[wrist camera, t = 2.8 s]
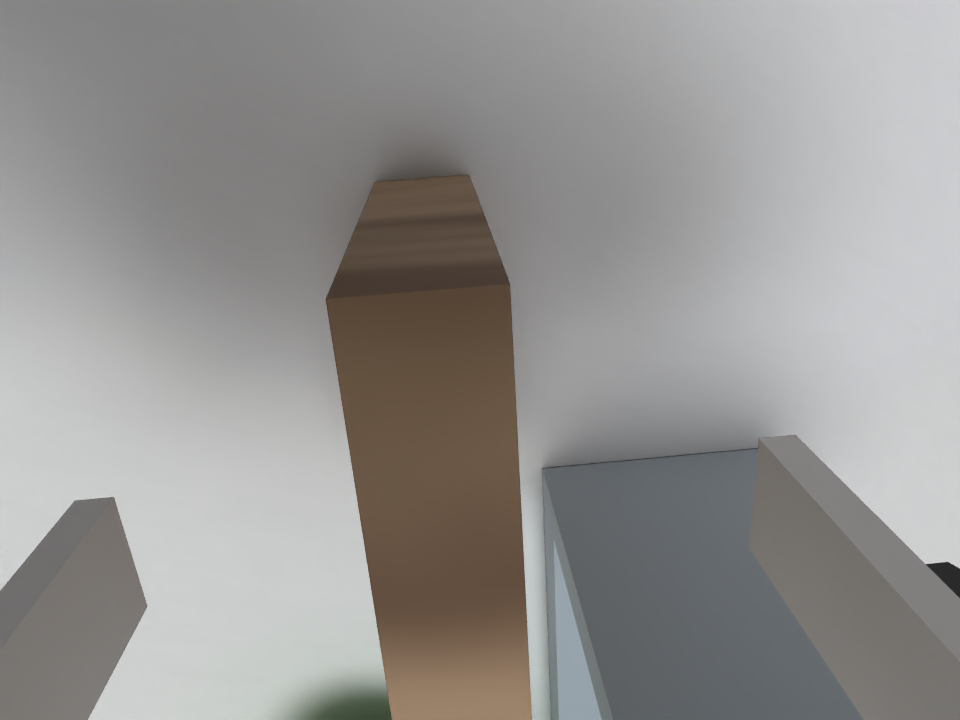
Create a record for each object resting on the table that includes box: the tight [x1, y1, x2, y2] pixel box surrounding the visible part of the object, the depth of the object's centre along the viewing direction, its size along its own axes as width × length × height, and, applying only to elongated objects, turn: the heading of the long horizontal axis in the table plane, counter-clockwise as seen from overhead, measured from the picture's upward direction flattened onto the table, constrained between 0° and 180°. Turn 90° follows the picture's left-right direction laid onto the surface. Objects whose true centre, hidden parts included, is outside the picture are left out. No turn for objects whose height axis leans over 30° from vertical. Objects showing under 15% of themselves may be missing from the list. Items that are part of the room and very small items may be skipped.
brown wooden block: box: [326, 175, 532, 720], centre depth 19 cm, size 10×3×12 cm, turn 4°
